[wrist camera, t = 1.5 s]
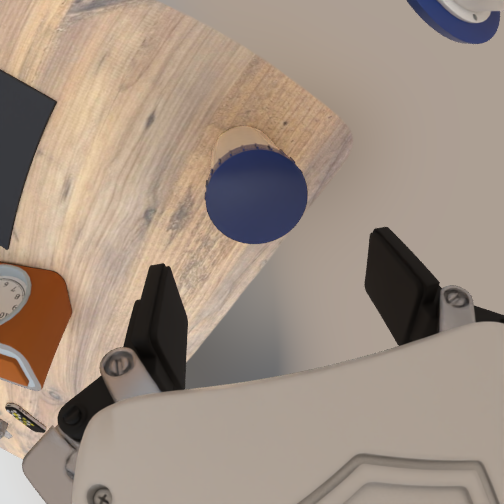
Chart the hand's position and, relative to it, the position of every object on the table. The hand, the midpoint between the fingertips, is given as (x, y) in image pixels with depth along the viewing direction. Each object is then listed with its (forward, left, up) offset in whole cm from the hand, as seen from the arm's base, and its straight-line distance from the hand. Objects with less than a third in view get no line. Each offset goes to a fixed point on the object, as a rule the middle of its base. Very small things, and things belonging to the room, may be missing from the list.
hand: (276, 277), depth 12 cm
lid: (0, 0, -8) cm, 8 cm away
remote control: (+82, -11, -19) cm, 85 cm away
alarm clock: (+30, -15, -18) cm, 38 cm away
